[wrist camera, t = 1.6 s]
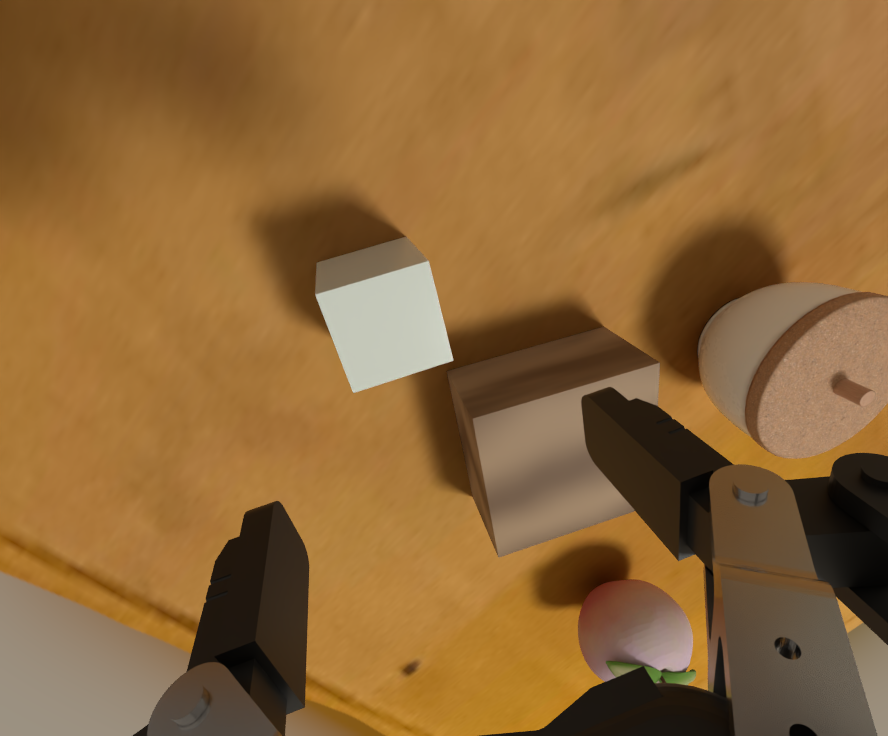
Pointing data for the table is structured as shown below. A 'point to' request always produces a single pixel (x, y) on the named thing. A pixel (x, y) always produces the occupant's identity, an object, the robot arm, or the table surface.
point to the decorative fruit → (635, 632)
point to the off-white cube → (382, 313)
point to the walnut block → (543, 434)
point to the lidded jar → (798, 364)
